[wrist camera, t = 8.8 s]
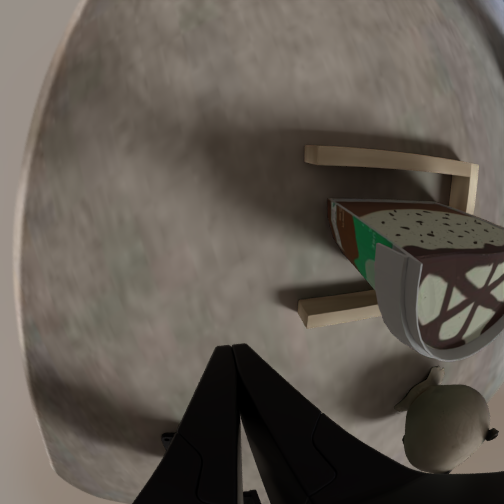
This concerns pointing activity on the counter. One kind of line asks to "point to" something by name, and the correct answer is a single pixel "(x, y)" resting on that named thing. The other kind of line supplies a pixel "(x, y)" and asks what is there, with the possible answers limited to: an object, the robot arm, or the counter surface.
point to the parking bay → (463, 173)
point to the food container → (427, 271)
